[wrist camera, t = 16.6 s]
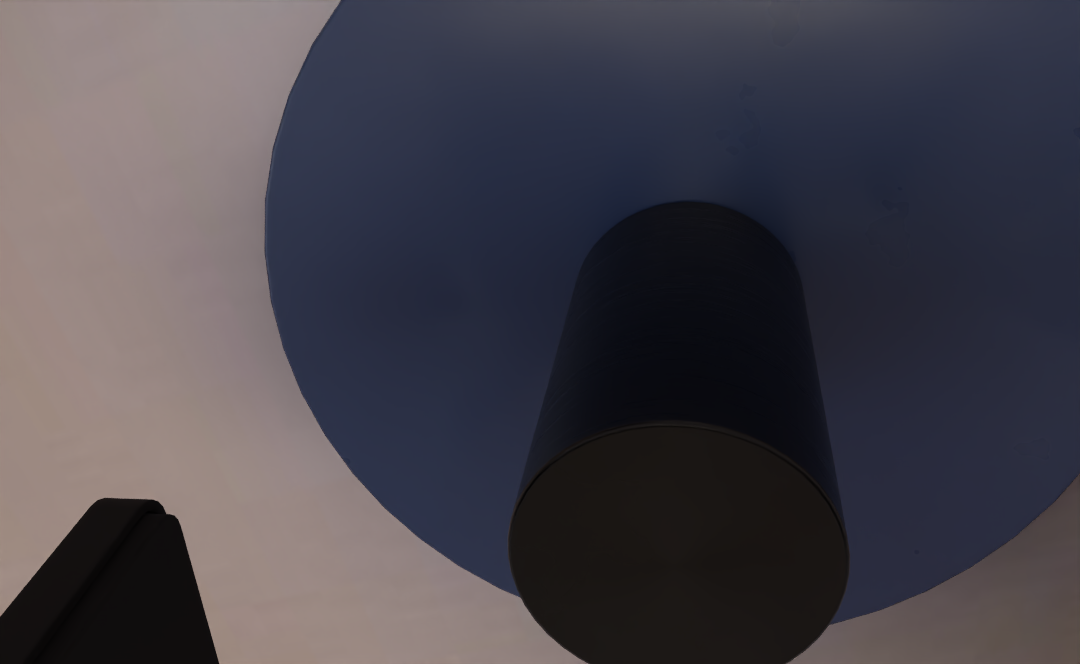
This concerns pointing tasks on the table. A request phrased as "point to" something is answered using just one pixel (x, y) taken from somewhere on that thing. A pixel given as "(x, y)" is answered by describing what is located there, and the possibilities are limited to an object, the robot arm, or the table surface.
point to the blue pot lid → (690, 298)
